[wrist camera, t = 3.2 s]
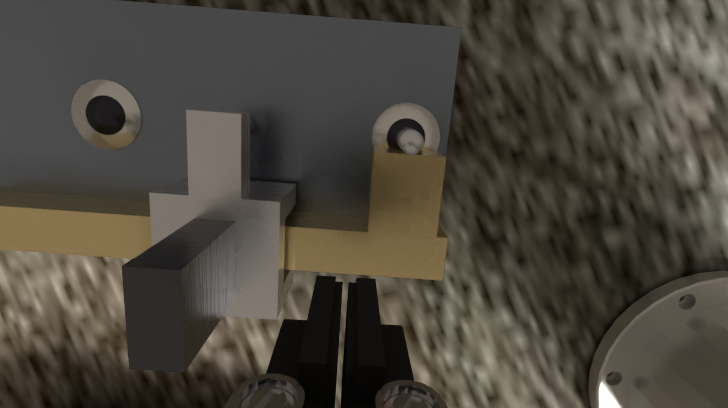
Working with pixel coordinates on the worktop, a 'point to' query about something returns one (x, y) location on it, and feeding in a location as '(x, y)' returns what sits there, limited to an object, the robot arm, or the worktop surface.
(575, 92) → the worktop surface
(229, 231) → the slider
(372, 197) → the beam
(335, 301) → the robot arm
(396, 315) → the worktop surface
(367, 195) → the hole plate
